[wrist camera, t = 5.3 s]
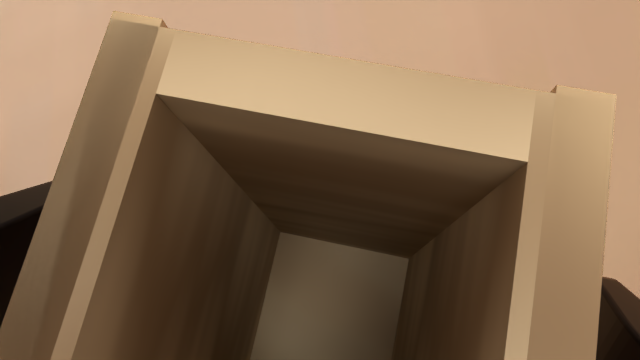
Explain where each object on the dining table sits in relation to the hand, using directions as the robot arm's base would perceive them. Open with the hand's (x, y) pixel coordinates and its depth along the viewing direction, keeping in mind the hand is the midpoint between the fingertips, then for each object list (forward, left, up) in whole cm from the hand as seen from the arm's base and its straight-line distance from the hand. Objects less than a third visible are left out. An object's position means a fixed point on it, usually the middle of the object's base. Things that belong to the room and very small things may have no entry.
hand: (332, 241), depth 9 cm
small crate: (-1, 0, -7) cm, 7 cm away
